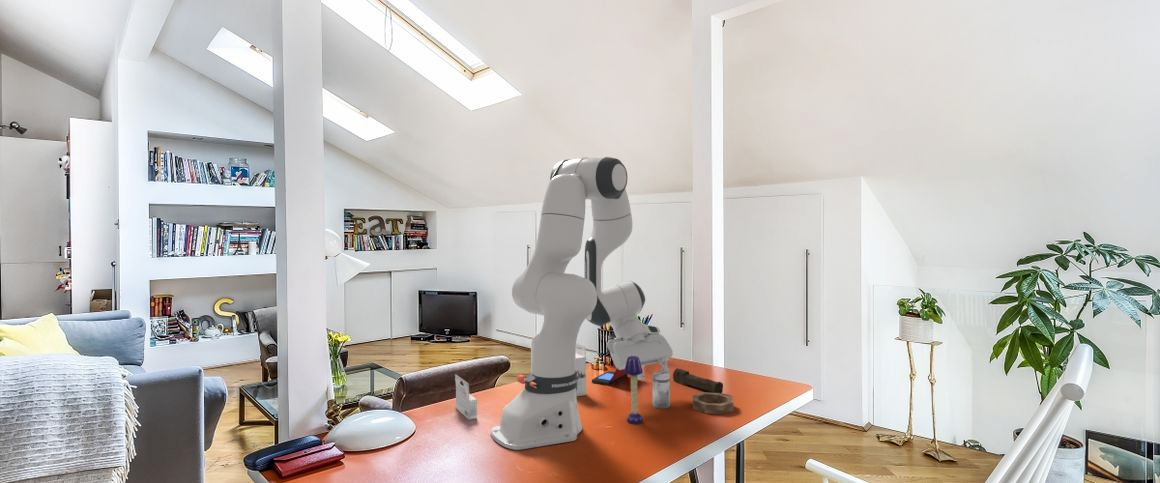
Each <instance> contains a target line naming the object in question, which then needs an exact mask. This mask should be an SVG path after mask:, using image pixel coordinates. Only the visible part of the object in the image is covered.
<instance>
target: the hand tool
mask: <svg viewBox="0 0 1160 483" xmlns="http://www.w3.org/2000/svg"><path fill="white" fill-rule="evenodd" d="M672 380H673V381H674V382H675V383H677V384H680V385H682V386H686V385H687V386H691V387H694V388H697V389H700V390H704V391H706V392H708V393H720V394H723V389H724V383H722V382H721V381H714V380H711V379H709V378H704V377H701V376H696V375H694V374H691V373H690V371H688V370H685V369H683V368H678V367H676V368H675V369H674V371H673V372H672Z"/></svg>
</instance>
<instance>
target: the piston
mask: <svg viewBox="0 0 1160 483" xmlns="http://www.w3.org/2000/svg"><path fill="white" fill-rule="evenodd" d="M670 376H671V374H670V372H669V373H667V372H661V371H654V372H652V377H651V378H652V379H651V381H652V384H651V385H652V386H651V387H652V388H651V390H652V401H651V402H652V407H653V408H656V409H659V410H660V409H662V410H663V409H668V408H670V406H671V403H670V402H671V401H670V400H671V399H670V398H671V392H670V390H671V389H670V388H671V384H670V382H671V378H670Z"/></svg>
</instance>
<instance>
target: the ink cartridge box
mask: <svg viewBox="0 0 1160 483" xmlns="http://www.w3.org/2000/svg"><path fill="white" fill-rule="evenodd" d="M454 377H455V378H454V381H455V408H456V410H458V411H459V413H461V414H462V415H463V416H464V417H465V418H466V419H467V420H469V421H471V420H475V419H477V417H478V399H477V398H475V397H474V396H473V395H472V394H470V384H469V382H467V381H466V380H465V379H463V378H462V377H460V376H459V375H458V374H456V373H455V374H454ZM462 384H463V385H462Z"/></svg>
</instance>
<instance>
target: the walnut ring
mask: <svg viewBox="0 0 1160 483" xmlns="http://www.w3.org/2000/svg"><path fill="white" fill-rule="evenodd" d="M733 400H734V399H733V397H732V396H729V395H725V394H723V393H721V394H720V393H712V392H707V391H706V392H704V391H703V392H699V393H696V394H692V409H693V410H695V411H697V412H701V413H702V414H711V415H712V414H713V415H725V414H728V413H731V412H732V413H733V412H734V401H733Z"/></svg>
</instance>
